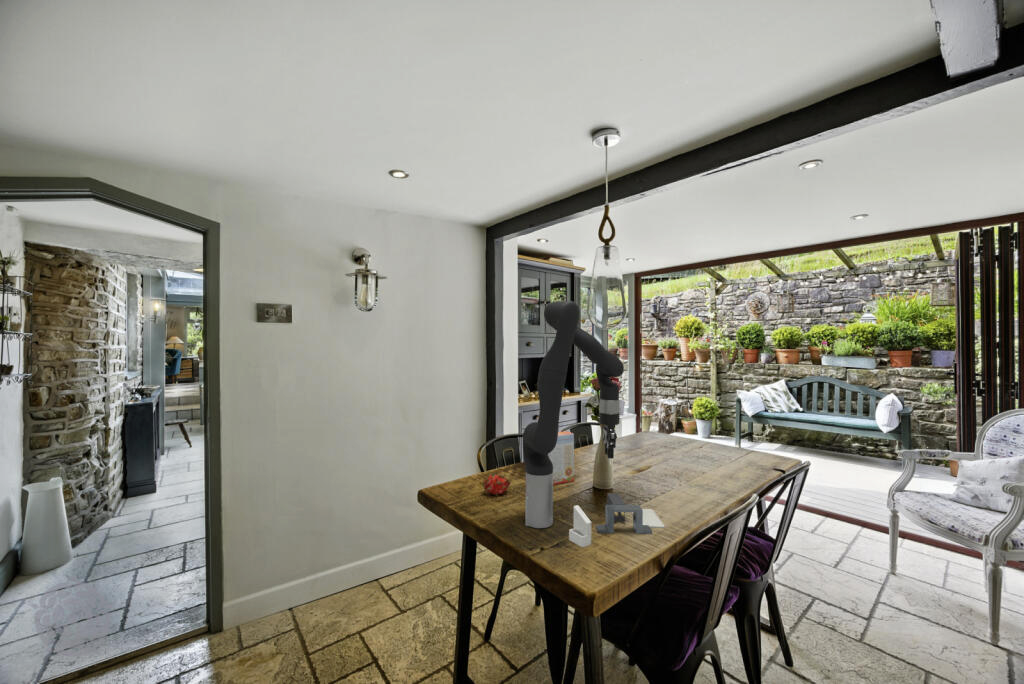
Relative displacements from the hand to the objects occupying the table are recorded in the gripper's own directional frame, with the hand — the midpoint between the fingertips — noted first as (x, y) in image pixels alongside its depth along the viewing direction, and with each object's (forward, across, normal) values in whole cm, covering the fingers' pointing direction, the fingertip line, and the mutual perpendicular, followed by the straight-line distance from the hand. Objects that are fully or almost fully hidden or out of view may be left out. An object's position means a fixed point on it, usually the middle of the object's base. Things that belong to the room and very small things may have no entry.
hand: (609, 456), depth 160 cm
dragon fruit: (+18, -7, -43) cm, 47 cm away
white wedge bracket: (+18, +32, -15) cm, 39 cm away
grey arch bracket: (+17, +24, 0) cm, 30 cm away
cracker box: (+18, -21, -18) cm, 33 cm away
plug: (+18, +12, 0) cm, 21 cm away
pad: (+17, +14, +10) cm, 25 cm away
